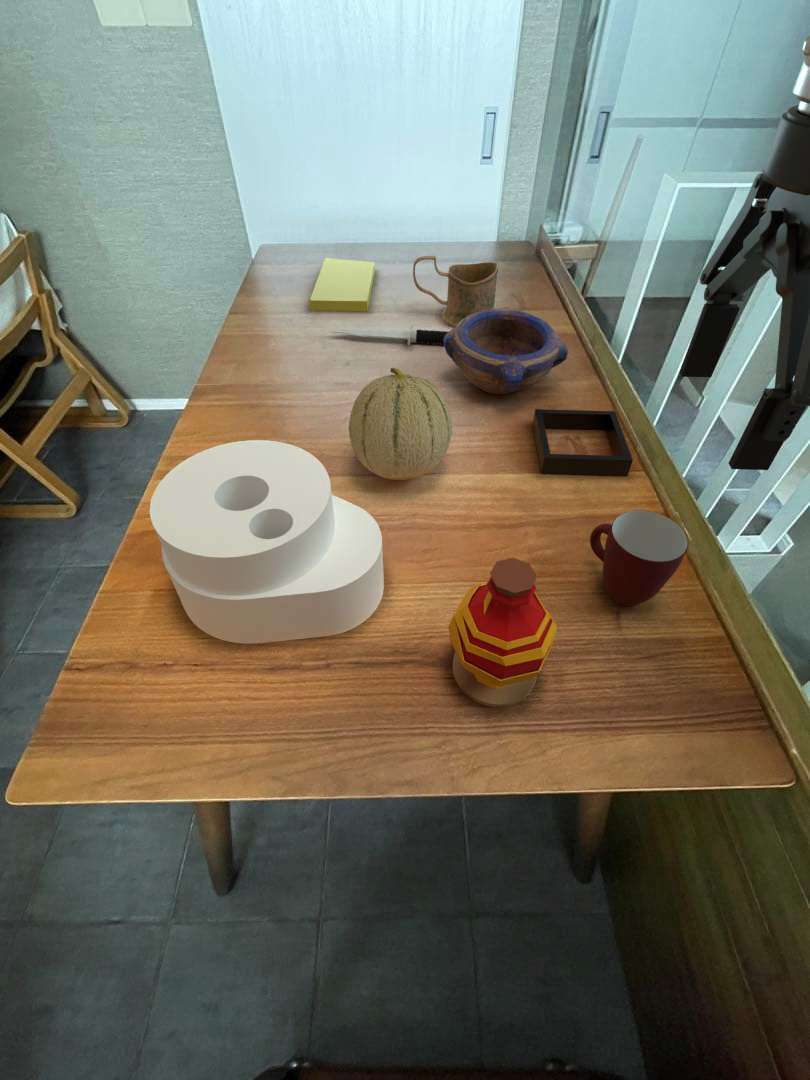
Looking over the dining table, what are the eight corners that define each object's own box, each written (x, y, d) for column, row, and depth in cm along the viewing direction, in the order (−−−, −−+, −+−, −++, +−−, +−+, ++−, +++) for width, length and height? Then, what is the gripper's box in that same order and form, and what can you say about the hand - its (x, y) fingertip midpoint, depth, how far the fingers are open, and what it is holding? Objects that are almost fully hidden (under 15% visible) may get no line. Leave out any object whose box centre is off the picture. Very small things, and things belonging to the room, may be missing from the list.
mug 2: (560, 580, 72) (577, 521, 65) (598, 548, 76) (618, 489, 68) (635, 632, 66) (663, 574, 59) (672, 595, 70) (703, 536, 63)
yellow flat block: (367, 311, 125) (375, 267, 141) (366, 301, 123) (375, 258, 140) (310, 310, 125) (326, 267, 142) (309, 300, 123) (325, 257, 140)
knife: (461, 326, 114) (459, 338, 111) (460, 338, 116) (459, 351, 112) (331, 319, 116) (326, 330, 113) (332, 331, 118) (327, 342, 115)
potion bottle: (493, 612, 68) (510, 518, 57) (563, 672, 62) (596, 580, 51) (425, 662, 63) (429, 569, 52) (494, 732, 57) (514, 644, 47)
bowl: (497, 422, 95) (505, 367, 88) (430, 377, 106) (431, 323, 99) (573, 388, 103) (585, 334, 96) (503, 348, 113) (509, 296, 106)
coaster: (552, 664, 63) (553, 661, 63) (506, 724, 59) (507, 721, 58) (483, 621, 67) (483, 618, 67) (435, 673, 63) (435, 670, 62)
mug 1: (413, 304, 127) (414, 245, 118) (495, 305, 127) (501, 246, 118) (412, 328, 119) (412, 267, 110) (498, 330, 118) (506, 268, 110)
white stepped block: (359, 667, 63) (350, 586, 53) (149, 626, 67) (105, 543, 57) (400, 539, 77) (399, 455, 67) (224, 511, 81) (199, 428, 71)
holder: (627, 476, 86) (633, 460, 84) (541, 473, 86) (544, 457, 84) (610, 426, 95) (615, 411, 92) (532, 424, 95) (535, 409, 93)
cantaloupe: (385, 515, 80) (382, 422, 69) (333, 459, 89) (323, 370, 78) (470, 476, 86) (479, 386, 75) (414, 428, 94) (415, 341, 84)
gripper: (721, 75, 43) (640, 344, 58) (908, 163, 26) (722, 515, 41) (825, 75, 43) (716, 346, 58) (1085, 165, 25) (832, 519, 41)
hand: (718, 416), depth 49 cm, fingers open, 13 cm apart
